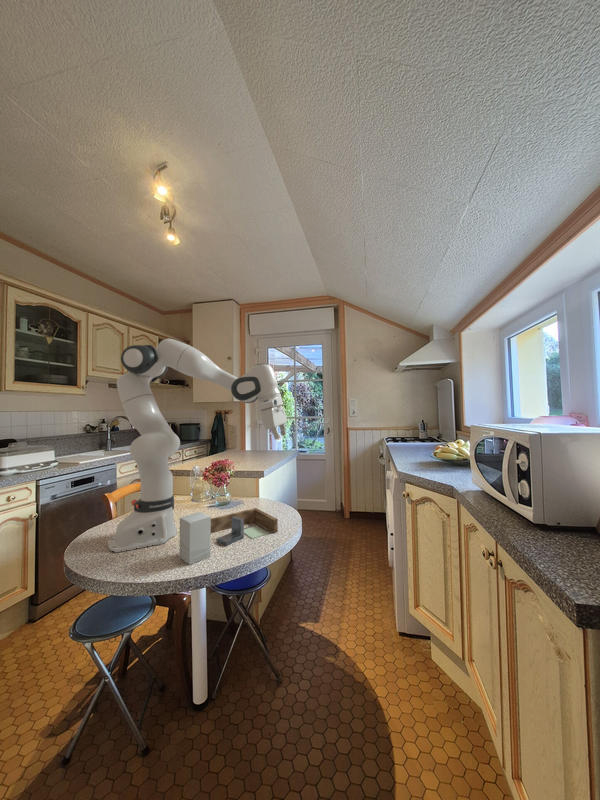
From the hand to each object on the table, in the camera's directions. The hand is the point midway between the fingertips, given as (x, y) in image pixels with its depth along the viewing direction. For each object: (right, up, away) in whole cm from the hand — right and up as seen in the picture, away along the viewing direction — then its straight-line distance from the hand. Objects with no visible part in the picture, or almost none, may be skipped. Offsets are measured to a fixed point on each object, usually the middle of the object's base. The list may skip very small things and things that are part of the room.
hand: (280, 437), depth 114 cm
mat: (-10, -36, -3) cm, 38 cm away
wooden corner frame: (-15, -36, -3) cm, 39 cm away
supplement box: (-26, -36, -21) cm, 49 cm away
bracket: (-17, -36, -10) cm, 41 cm away
